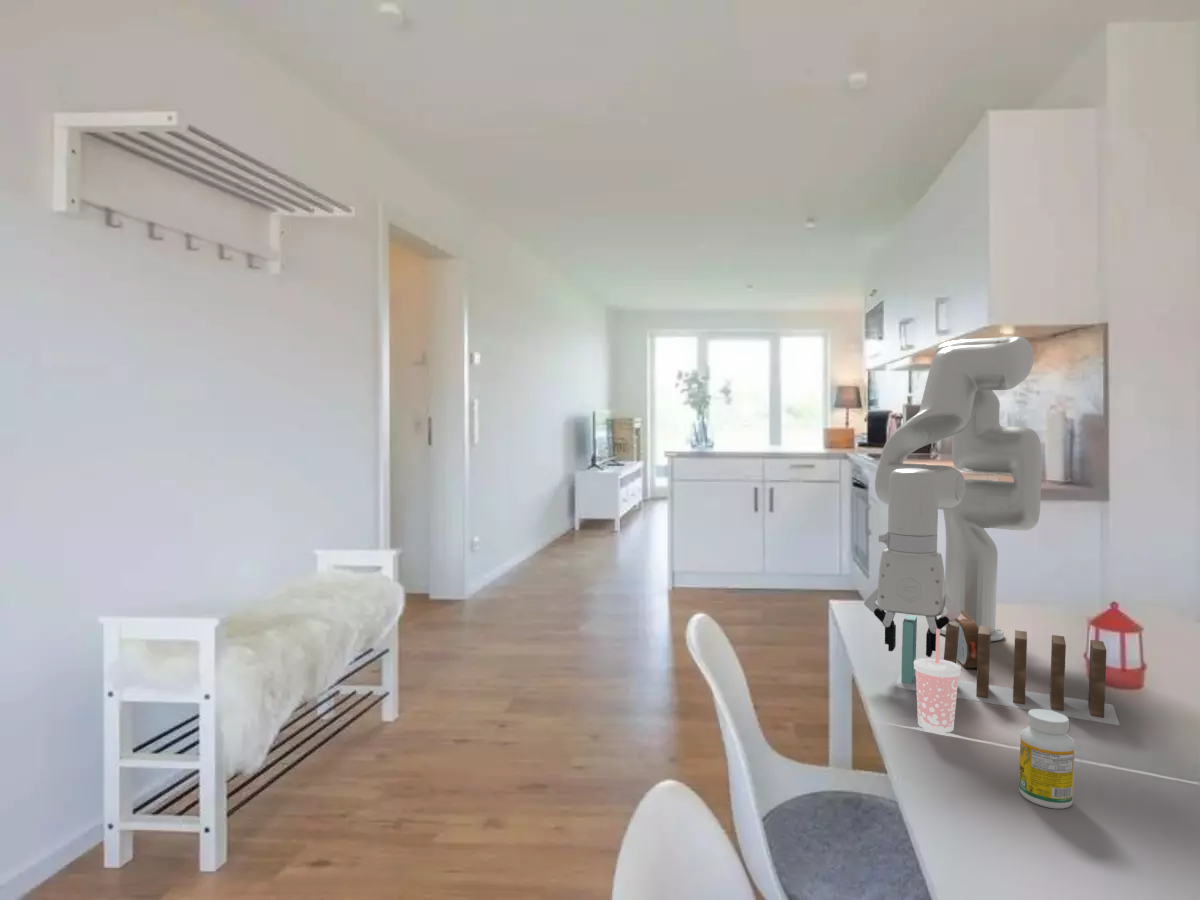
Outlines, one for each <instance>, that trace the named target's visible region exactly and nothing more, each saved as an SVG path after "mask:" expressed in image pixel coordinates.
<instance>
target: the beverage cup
mask: <svg viewBox="0 0 1200 900" xmlns="http://www.w3.org/2000/svg"><path fill="white" fill-rule="evenodd" d="M940 635H941V633H940V629H936V651H935V657H922V658H916V660H914V669H915V670H916V671H915V673H916V690H917V691H916V707H917V708H916V710H917V725H919V727H920V729H921V730H922V731H925V732H928V733H931V734H936V735H949V734H951V732H952V731H954V729H955V728H954V727H955V717H956V706H957V699H958V698H957V687H958V680H959V676H961V672H962V671H961V670H962V665H959V663H957V662H956V663H954V662H951V661H947V660H944V658H943V659H942V658H940V639H941V638H940Z"/></svg>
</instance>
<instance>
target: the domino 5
mask: <svg viewBox="0 0 1200 900" xmlns="http://www.w3.org/2000/svg"><path fill="white" fill-rule="evenodd" d="M1066 648H1067V644H1066V640H1065V636H1063V635H1055V634H1052V635H1051V653H1050V654H1051V656H1050V683H1049V686H1050V687H1049V695H1050V704H1051V709H1053V710H1059V711H1064V697H1065V685H1066V684H1065V680H1066V679H1065V677H1066V676H1065V675H1066V653H1067V652H1066Z"/></svg>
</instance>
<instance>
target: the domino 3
mask: <svg viewBox="0 0 1200 900" xmlns="http://www.w3.org/2000/svg"><path fill="white" fill-rule="evenodd" d="M990 638H991V627H986V626H979V631H978V655H977V668H976V683H977V689H976V697H982V698H988V693H989V685H990V671H991V670H990V668H991V667H990V666H991V665H990V664H991V641H990Z"/></svg>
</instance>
